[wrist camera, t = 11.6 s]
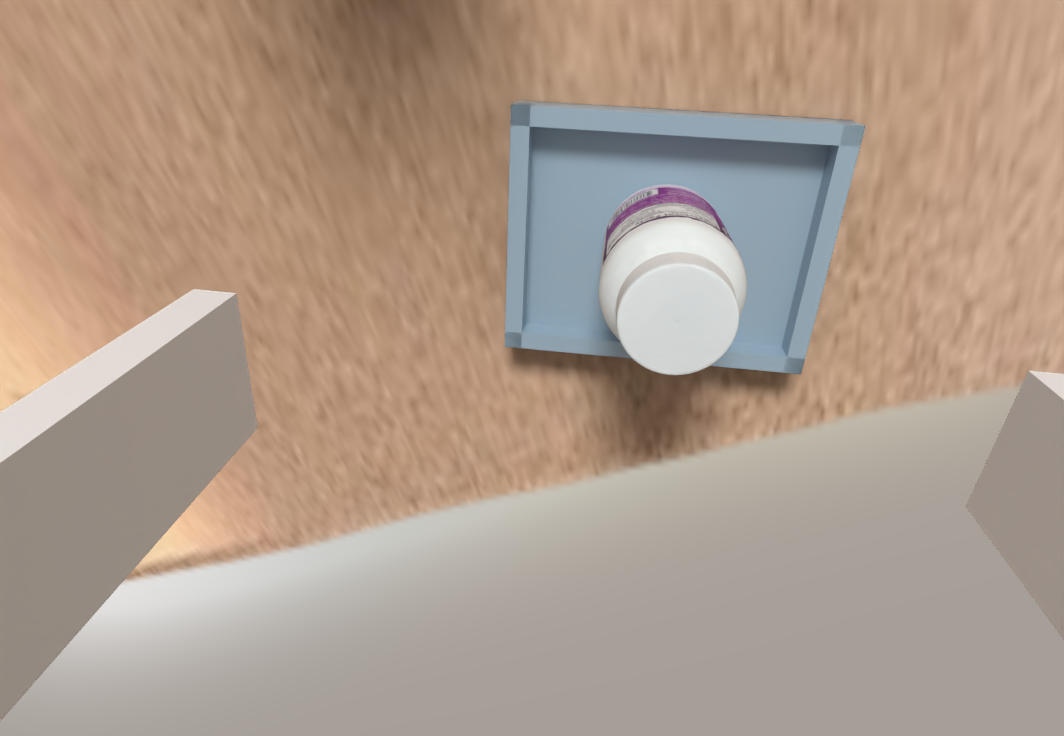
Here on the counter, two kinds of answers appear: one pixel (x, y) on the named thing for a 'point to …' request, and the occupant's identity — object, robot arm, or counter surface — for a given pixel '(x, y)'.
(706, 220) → the pill bottle
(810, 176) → the tray
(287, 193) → the counter surface
